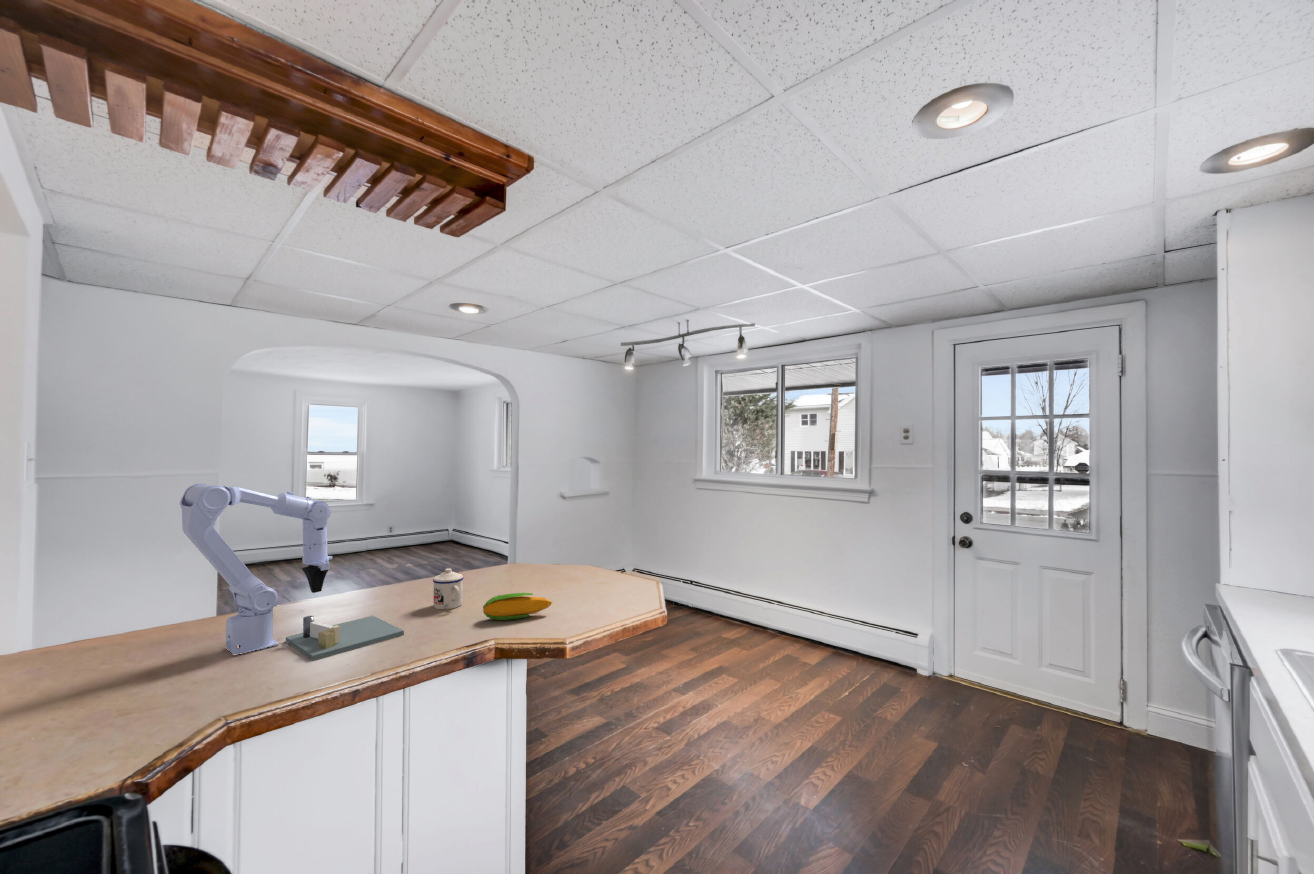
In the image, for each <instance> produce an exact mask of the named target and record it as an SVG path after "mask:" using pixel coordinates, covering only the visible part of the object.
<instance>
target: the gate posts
mask: <svg viewBox="0 0 1314 874" xmlns="http://www.w3.org/2000/svg"><path fill="white" fill-rule="evenodd" d="M302 619H303V621H302V628H303V629H302V630H303V631H302V633H303V638H309V637H310V623H311V622H314V621H315V615H307V616H304V617H303V618H302ZM333 646H335V632H334V631H331V630H326V631H323V632H320V633H319V635H318V647H321V648H324V649H327V648H330V647H333Z"/></svg>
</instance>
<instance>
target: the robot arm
mask: <svg viewBox="0 0 1314 874" xmlns="http://www.w3.org/2000/svg"><path fill="white" fill-rule="evenodd" d="M239 503H244V504H247V505H248V504H249V505H255V506H262V507H265V508H266V507H267V508H270V509H271V511H272V512H273V513H274V514H275V515H280V516H285V517H288V518H290V517H291V518H295V519H301V520H302V548H303V549H302V553H303V555H302V564H303V565H306V566H305V567H302V568H301V570H302V571H303V573H304V574H305V576H306V579H307V582H308V586H309V589H310V592H311V593H312V594H315V593H320V592H322V589H323V587H324V586H323V585H324V583H325V578H326V576H327V574H328V571H329V570H330V569H331V563H330V562H329V560H332V559H333V555H329V554H328V519H329V518H330V516H331V514H332V509H330V505H329V504H328V503H327V502H325V501H323V500H316V499H313V497H312V496H305V497H303V496H300V495H299V496H298V495H295V493H294V492H292V491H287V492H282V493H278V494H277V495H271V494H267V493H263V492H260V491H255V490H251V489H248V488H244V487H239V486H231V485H230V486H229V485H217V484H212V485H211V484H207V483H195V484H192V485H190V486H189V487H187V488H186V489H185V491H184V492H183V495H182V497H181V499H180V501H179V505H180V509H181V521H182V525H181V527H182V528H181V529H182V532H183V533H184V534H185V536H186V537H187V538H188V540H190V541H191V543H192V544H193V545H194V546H195V547H196V548H197V550H198V551H199V552H200V553H201V554H202V556H203V557H204V558H205V559H206V560H207V561H208V562H209V564H210V565H211V566H212V567H213V568H214V569H215V571H217V573H218V574H219V575H220V577H222V578H223V580H224V581H225V582H226V583H227V584H228V585H229V591H230V592H231V593H232V595H233V602H234V604H235V605H236V606H238V607H239V608H238V611H237V614H235V615H233V616H229V617H227V619H226V622H225V647H226V648H227V649H228V650H229V651H230V652H231V653H232V654H240V653H245V654H247V653H246V652H249V653H252V652H251V651H253V652H256V651H255V650H257V651H260V649H261V650H264V649H267V647H269V648H272V646H273V647H275V646H276V647H277V646H278V645H280V643H279V642H278V641H277V640H275V639H274V608H275V606H276V605H277V603H278V599H279V595H278V592H277V591H276V590H275V589H274V588H272V587H269V586H267V585H266V584H265V583H264V582H263V581H262V580H260V579H259V578H258V577H257V576H255V575H254V574H253V573H252V572H251V570H250V569H249V568H248V567H247V566H246V565H245V563H244V562H243V561H242V560H241V558H240V557H239V556H238V555H237V554H236V553H235V550H233V549H232V548H231V547H230V545H229V544H228V543H227V542H226V540H225V539H224V538H223V537H222V535H220V533H219V532H218V531H217V530H216V528H215V524H216V522H217V520H218V518H219V516H220V515H221V514H222V513H223V512H224V510H225V509H226V508H227V506H235V505H237V504H239ZM237 645H239V648H237ZM230 652H229V653H230ZM231 653H230V654H231ZM232 654H231V655H232Z"/></svg>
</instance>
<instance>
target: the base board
mask: <svg viewBox="0 0 1314 874" xmlns="http://www.w3.org/2000/svg"><path fill="white" fill-rule="evenodd" d="M336 625H338V626H340V642H338V643H335V646H333V647H330V648H327V649H324V648H321V647H318V639H317V638H314V637H309V638H303V632H300V633H296V634H291V635H288V636H286V637H285V642H286V643H287V642H288V643H287V644H289V645H290V646H291V645H292V647H293V648H295V650H297V651H299V652H300V653H301V654H303V655H304V656H306V658H308V659H310V660H311V661H312V662H313V661H317V660H320V659H324V658H327V657H331V656H334V655H337V654H341V653H344V652H348V651H353V650H356V649H359V648H362V647H367V646H370V645H373V644H377V643H381V642H384V641H387V640H390V639H395V638H397V637H402V636H404V635H405V631H404V629H402V628H400V627H398V626H395V625H393V624H392V623H389V622H387V621H385V620H383V619H381V618H378V617H377V616H375V615H370V616H365V617H361V618H357V619H354V620H350V621H345V622H340V623H337V624H333V625H331V626H336Z"/></svg>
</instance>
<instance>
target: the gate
mask: <svg viewBox="0 0 1314 874" xmlns="http://www.w3.org/2000/svg"><path fill="white" fill-rule="evenodd" d="M335 625H336V624H335ZM326 630H331V631H334V632H335V643H338V642H340V626H338V625H336V626H332V625H331V624H325V623H323V622H319V621H315V620H314V622H311V623H310V637H314V638H317V639H318V635H319V633H320V632H323V631H326Z"/></svg>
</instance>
